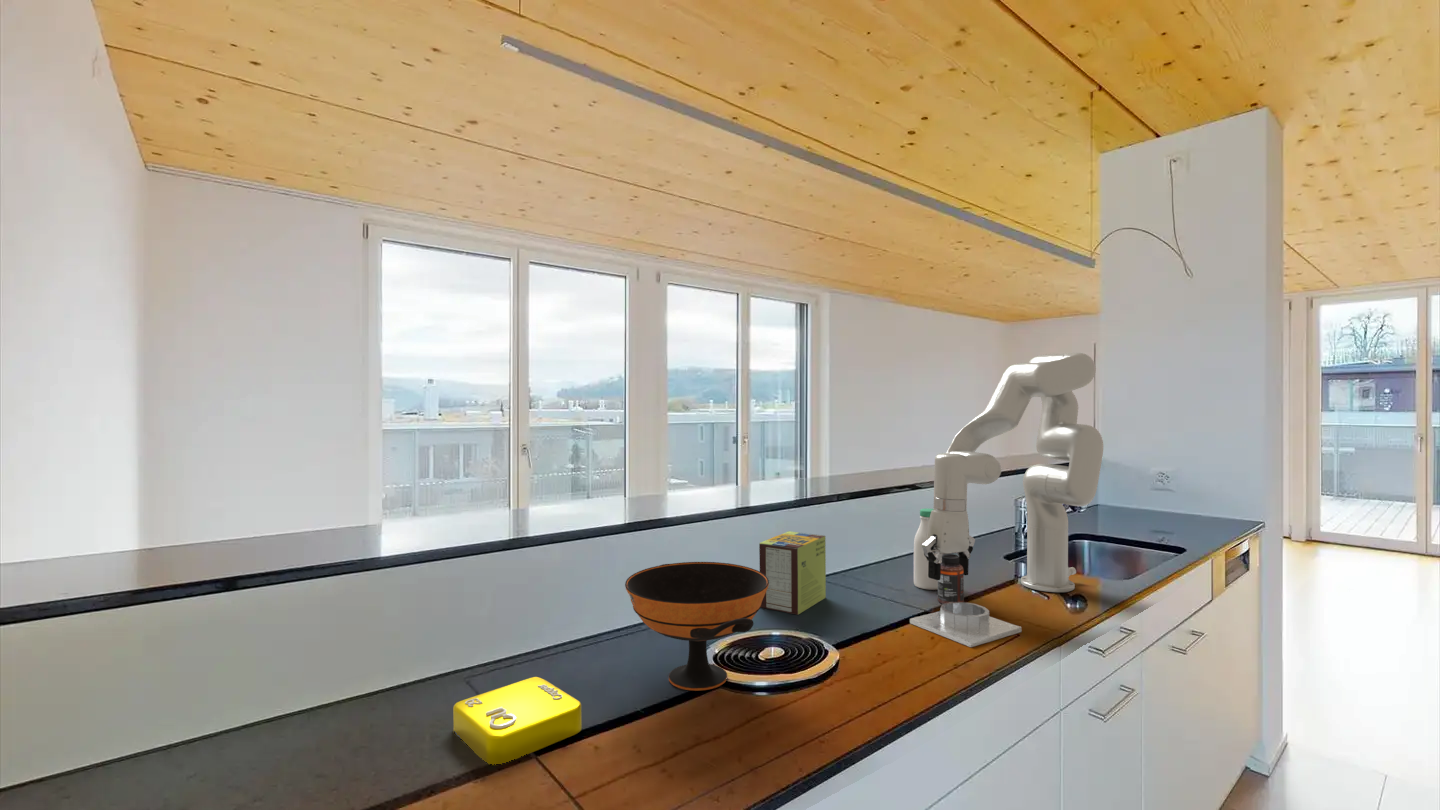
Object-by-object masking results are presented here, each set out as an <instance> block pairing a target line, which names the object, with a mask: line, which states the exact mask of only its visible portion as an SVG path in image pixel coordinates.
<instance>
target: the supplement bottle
mask: <svg viewBox="0 0 1440 810" xmlns="http://www.w3.org/2000/svg"><path fill="white" fill-rule="evenodd" d="M964 576H965V575H964V574H963V567H962V565H960V564H959V555H958V554H957V555H956V554H955V553H953V554H945V555H944V554H943V555H942V562H941V578H940V580H938V589H937V600H938V602H939V603H940V604H941V605H942V604H945V603H949V602H965V589H964V588H965V586H964V584H965V581H964V579H965V578H964Z"/></svg>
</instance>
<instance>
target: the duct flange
mask: <svg viewBox="0 0 1440 810" xmlns="http://www.w3.org/2000/svg"><path fill="white" fill-rule="evenodd" d="M909 624H911V625H914V626H916V627H918V628H921V629H923V630H926V631H927V632H928V631H929V632H930V633H934V634H936V635H939V636H941V637H944V638H947V639H949V640H951V641H954V642H956V643H959V644H961V645H964V646H967V647H969V648H973V647H976V646H980V645H983V644H987V643H991V642H993V641H996V640H1000V639H1003V638H1005V637H1009V636H1013V635H1016V634H1019V633H1022V626H1019V625H1016V624H1014V623H1010V622H1008V621H1004V620H1002V619H998V618H996V617H993V616H990V610H989V609H988V608H986V607H985V606H983V605H979V604H977V603H973V602H967V601H966V602H965V601H964V602H949V603H945V604H942V603H941V606H940V610H939V611H935V612H931V613H928V614H923V615H920V616H914V617H911V618H909Z"/></svg>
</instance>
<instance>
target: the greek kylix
mask: <svg viewBox="0 0 1440 810" xmlns="http://www.w3.org/2000/svg"><path fill="white" fill-rule="evenodd" d="M768 586H769V580H768V578H767V576H766V575H764V574H763V573H761V572H760V570H757V569H754V568H753V567H748V566H745V565H741V564H734V563H729V562H728V563H726V562H715V561H686V562H685V561H684V562H674V563H663V564H660V565H656V566H651V567H648V568H645V569H642V570H639V571H637V572H634V573H633V574H631V575H630V576H628V577H627V579H626V581H625V582H624V587H625V590H626V593H627V595H628V597H629V600H630V602H631V604H632V608H633V611H634V613H635V614H637V615H638V617H639V618H640V620H641V621H642V623H644V624H645V625H646V626H647V627H648V628H649V629H651V630H652V631H654V632H656V633H658V634H660V635H662V636H665V637H666V638H671V639H675V640H680V641H688V657H687V663H686V664H684V665H683V664H682V665H680V666H678V667H675V668H674V669H672V670H671V671H670V672H669V673H668V682H669V683H670V684H671V685H673V686H674V687H676V688H678V689H681V690H687V691H692V692H693V691H695V692H696V691H708V690H712V689H716V688H718V687H720V686H722V685H723V684H725V683H726V681H727V680H726V678H727V679H728V673H727V671H726V670H725V669H724V668H722V667H720V666H719V665H715V664H711V663H709V659H708V652H707V649H708V648H707V644H708V643H707V641H713V640H719V639H722V638H726V637H727V636H730V635H733V634H735V633H746V632H749V631H750V630H752V628H753V626H754V620H753V619H754V617H755V616H756V615H757V613H758V612H759V611H760V609H761V605H762V600H763V598H764V595H765V593H766V591H767V588H768Z"/></svg>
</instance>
